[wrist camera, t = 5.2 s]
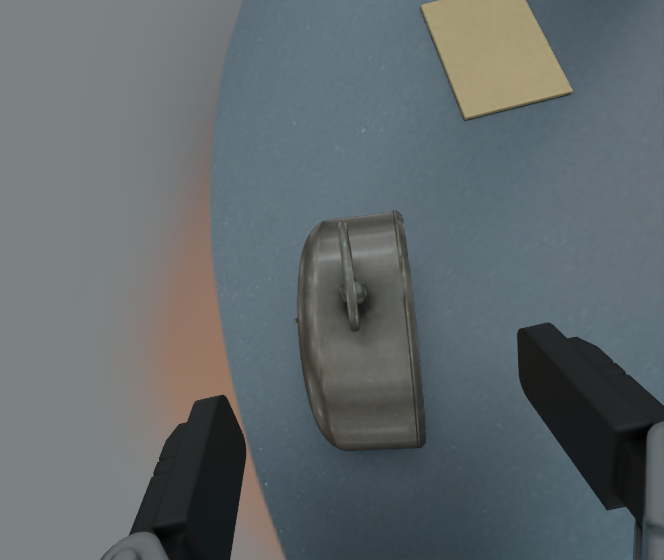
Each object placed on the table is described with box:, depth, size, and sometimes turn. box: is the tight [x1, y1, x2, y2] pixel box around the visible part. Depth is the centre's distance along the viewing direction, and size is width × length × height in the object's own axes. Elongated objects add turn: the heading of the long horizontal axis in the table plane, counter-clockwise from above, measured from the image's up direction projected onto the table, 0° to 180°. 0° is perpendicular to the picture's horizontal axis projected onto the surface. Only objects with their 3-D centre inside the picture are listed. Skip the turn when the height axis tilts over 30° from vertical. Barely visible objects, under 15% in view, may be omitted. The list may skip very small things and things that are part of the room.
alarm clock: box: [295, 211, 426, 451], centre depth 19 cm, size 11×5×16 cm, turn 3°
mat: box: [421, 0, 573, 120], centre depth 33 cm, size 8×12×1 cm, turn 12°
